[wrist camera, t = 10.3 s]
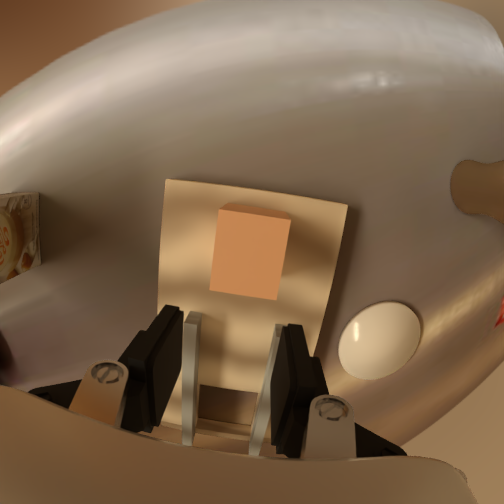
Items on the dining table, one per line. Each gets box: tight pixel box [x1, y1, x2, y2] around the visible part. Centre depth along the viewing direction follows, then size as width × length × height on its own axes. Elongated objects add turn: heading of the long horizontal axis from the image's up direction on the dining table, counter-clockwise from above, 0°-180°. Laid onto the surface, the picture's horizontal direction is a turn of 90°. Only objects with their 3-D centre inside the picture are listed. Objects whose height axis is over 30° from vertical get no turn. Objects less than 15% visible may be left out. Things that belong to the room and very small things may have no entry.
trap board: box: [158, 179, 348, 456], centre depth 28 cm, size 30×16×4 cm, turn 172°
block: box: [209, 203, 291, 300], centre depth 23 cm, size 6×5×5 cm
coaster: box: [338, 301, 420, 380], centre depth 30 cm, size 10×10×1 cm
